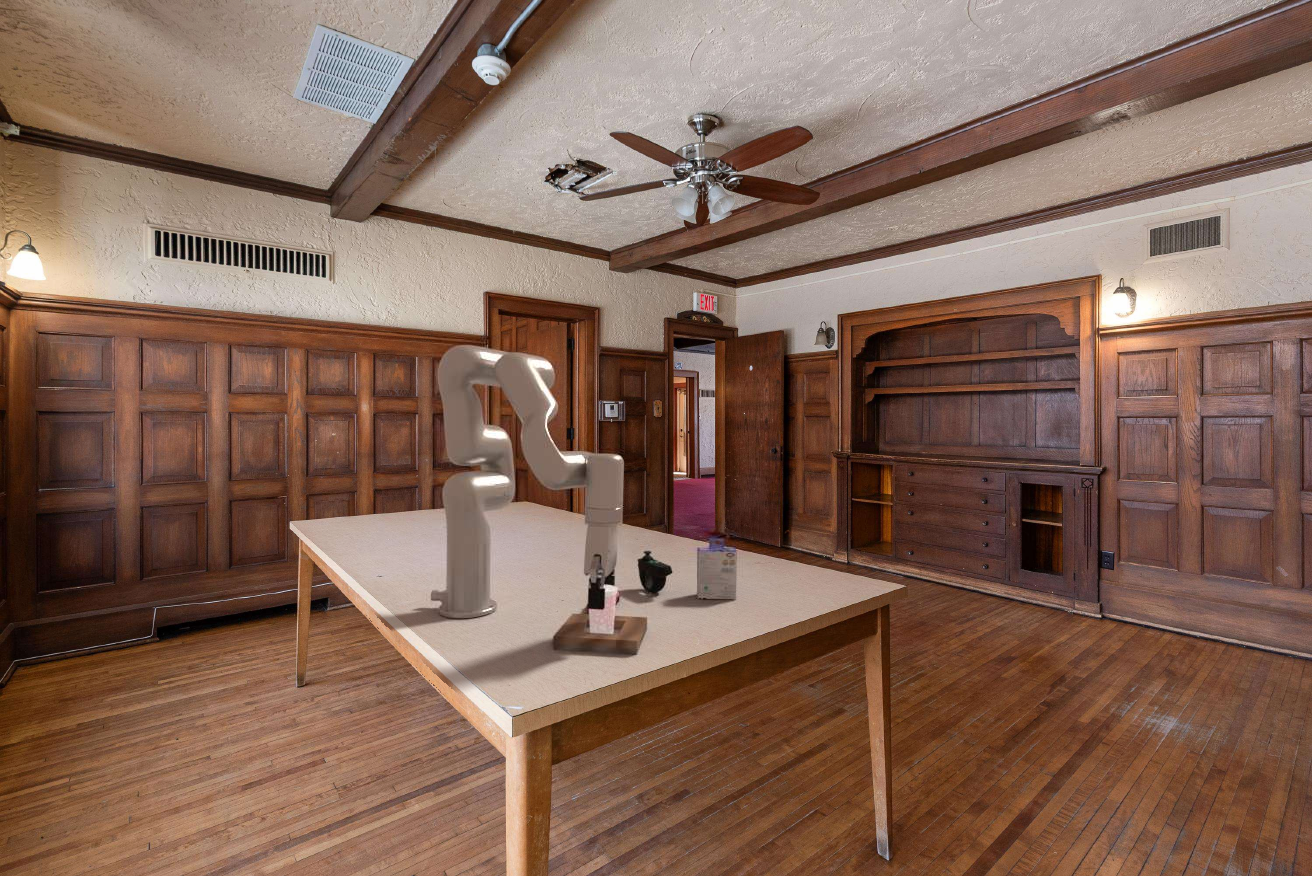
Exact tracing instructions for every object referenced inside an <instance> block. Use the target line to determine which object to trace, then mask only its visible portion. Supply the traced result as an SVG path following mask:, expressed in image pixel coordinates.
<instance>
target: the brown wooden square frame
mask: <svg viewBox="0 0 1312 876" xmlns="http://www.w3.org/2000/svg"><path fill="white" fill-rule="evenodd" d="M647 630H648V617H646V616H630V615H629V616H626V615H615V617H614V630H613V634H605V633H590V620H589V613H575V612H574V613H571V615H570V616H569V617H568V618H567V619H566V621H565V622H564V623H563V624H562V625H561V626H560V628H559V629H558V630H557V631H556V632H555V633H554V635H553V639H552V649H553V650H557V651H558V650H559V651H573V652H574V651H575V652H589V653H593V652H594V653H608V654H623V655H624V654H625V655H638V652H639V650H640V647H641V646H642V643H643V641H644V637H645V635H646V633H647Z"/></svg>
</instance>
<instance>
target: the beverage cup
mask: <svg viewBox="0 0 1312 876" xmlns="http://www.w3.org/2000/svg"><path fill="white" fill-rule="evenodd" d="M603 588H605V608H604V609H603V610H597V609H589V613H588V614H589V620H590V633H605V634H613V630H614V617H615V616H616V615H615V613H616V605H615V603H616V594H617V590H618V591H619V589H618V587H617V586H612V585H604V587H603ZM586 593H587V595H588V587H587V588H586Z"/></svg>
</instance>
